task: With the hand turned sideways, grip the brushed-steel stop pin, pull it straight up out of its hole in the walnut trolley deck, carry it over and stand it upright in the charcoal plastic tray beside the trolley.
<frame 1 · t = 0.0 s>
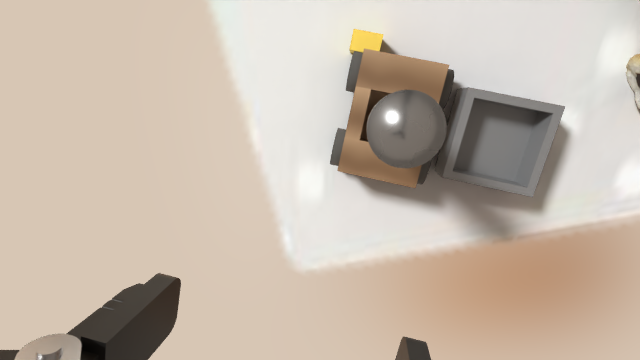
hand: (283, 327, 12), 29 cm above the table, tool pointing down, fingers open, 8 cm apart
stop pin: (388, 119, 36), point 3 cm above the table, touching trolley
trolley: (387, 118, 39), on the table
tray: (487, 139, 38), on the table
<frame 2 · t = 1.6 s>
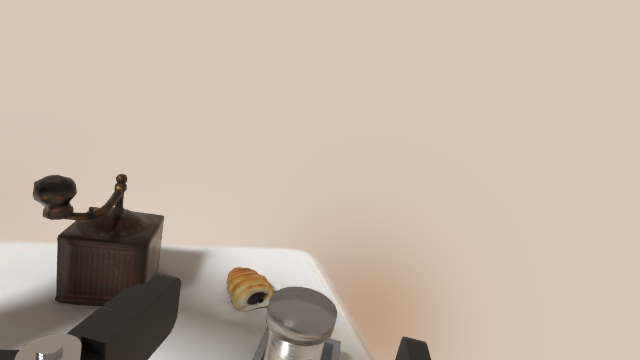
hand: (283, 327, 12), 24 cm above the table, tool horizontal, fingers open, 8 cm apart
pastry: (246, 297, 54), on the table
manual coffee grinder: (103, 294, 48), on the table
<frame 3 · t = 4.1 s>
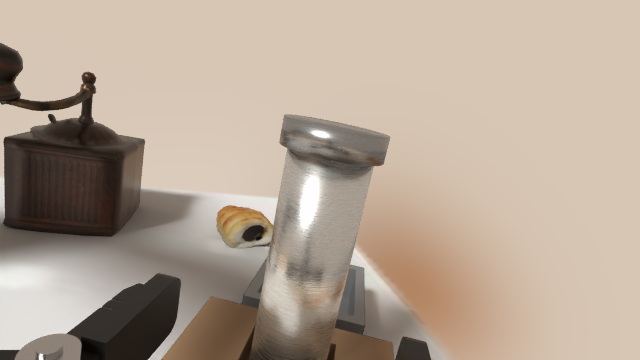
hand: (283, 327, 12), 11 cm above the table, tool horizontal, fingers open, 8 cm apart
tray: (303, 320, 30), on the table
pastry: (240, 237, 45), on the table
manual coffee grinder: (68, 224, 39), on the table
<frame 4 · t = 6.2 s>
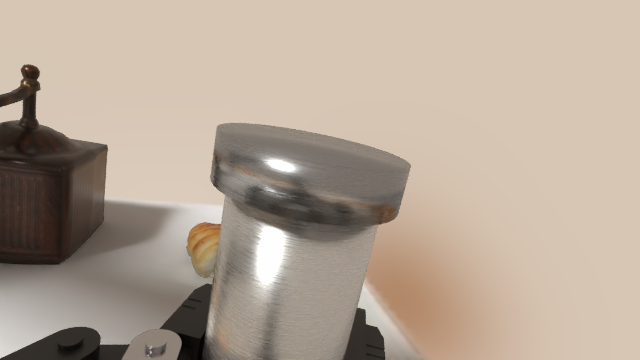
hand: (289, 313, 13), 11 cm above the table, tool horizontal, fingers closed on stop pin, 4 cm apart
pastry: (216, 261, 38), on the table
manual coffee grinder: (7, 249, 32), on the table
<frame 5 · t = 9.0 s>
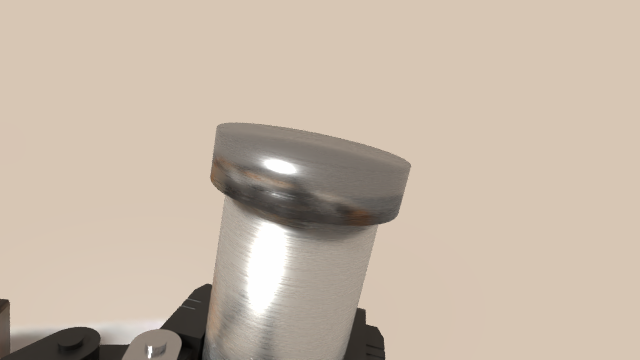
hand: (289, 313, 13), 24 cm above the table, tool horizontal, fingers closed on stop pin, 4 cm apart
when the fingers open (10 cm above the table, at t = 11.8 s): stop pin drops 1 cm, resting on tray.
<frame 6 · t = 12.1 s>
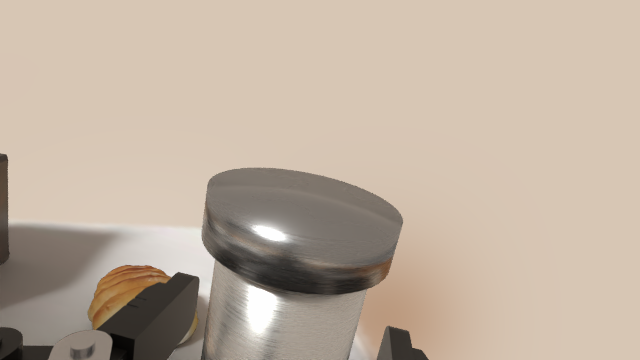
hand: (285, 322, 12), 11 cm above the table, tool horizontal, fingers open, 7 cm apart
pastry: (138, 326, 26), on the table
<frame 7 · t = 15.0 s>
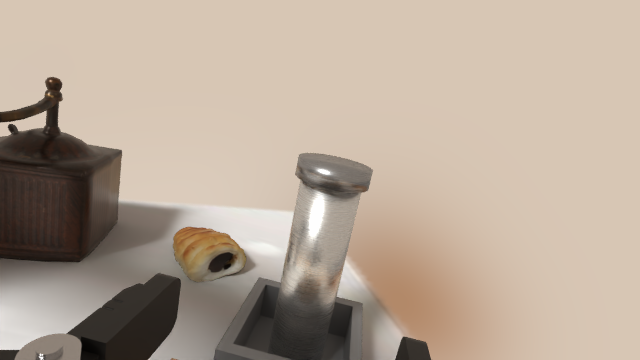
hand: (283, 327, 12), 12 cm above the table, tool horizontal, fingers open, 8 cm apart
stop pin: (293, 358, 26), point 1 cm above the table, touching tray
pastry: (203, 265, 38), on the table
manual coffee grinder: (31, 247, 35), on the table
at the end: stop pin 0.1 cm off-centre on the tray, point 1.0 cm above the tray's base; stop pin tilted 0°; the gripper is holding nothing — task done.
